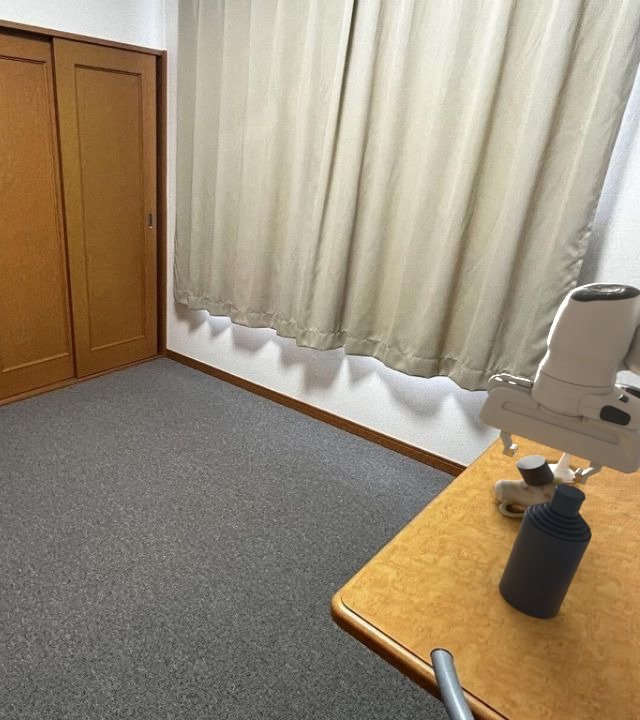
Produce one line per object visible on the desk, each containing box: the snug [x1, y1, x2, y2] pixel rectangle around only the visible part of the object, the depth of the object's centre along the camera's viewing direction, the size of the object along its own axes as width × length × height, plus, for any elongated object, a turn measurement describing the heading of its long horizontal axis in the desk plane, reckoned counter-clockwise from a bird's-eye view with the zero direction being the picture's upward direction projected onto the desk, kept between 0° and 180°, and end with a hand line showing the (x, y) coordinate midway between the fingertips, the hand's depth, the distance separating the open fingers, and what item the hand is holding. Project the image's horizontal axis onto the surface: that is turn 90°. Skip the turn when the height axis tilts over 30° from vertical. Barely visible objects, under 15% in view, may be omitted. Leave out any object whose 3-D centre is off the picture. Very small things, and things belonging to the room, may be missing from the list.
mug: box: [494, 475, 564, 519], centre depth 79 cm, size 8×10×10 cm
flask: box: [498, 483, 593, 620], centre depth 61 cm, size 7×7×18 cm
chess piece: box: [548, 452, 576, 484], centre depth 87 cm, size 5×5×10 cm
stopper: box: [515, 454, 554, 486], centre depth 78 cm, size 4×4×3 cm
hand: (542, 467), depth 77 cm, fingers open, 8 cm apart
